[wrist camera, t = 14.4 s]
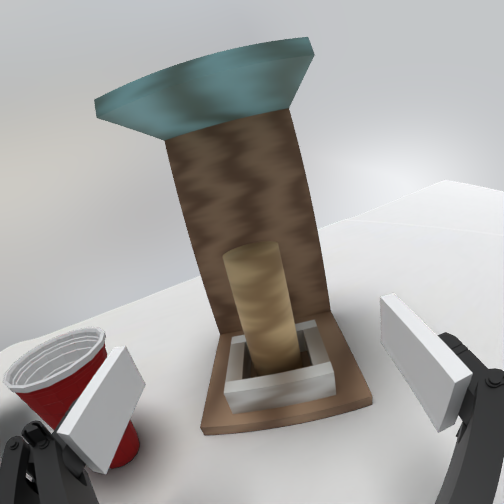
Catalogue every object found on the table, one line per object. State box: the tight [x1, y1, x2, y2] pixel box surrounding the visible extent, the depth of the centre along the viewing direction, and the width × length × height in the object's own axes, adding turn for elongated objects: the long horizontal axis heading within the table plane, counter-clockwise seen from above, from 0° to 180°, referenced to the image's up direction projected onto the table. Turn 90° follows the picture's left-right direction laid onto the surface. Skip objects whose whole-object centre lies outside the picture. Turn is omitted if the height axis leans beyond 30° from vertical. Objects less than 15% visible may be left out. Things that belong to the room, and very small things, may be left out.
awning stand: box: [94, 37, 372, 435], centre depth 26 cm, size 15×18×28 cm
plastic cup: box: [3, 327, 139, 469], centre depth 18 cm, size 11×11×12 cm
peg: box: [223, 241, 303, 377], centre depth 24 cm, size 5×5×13 cm
